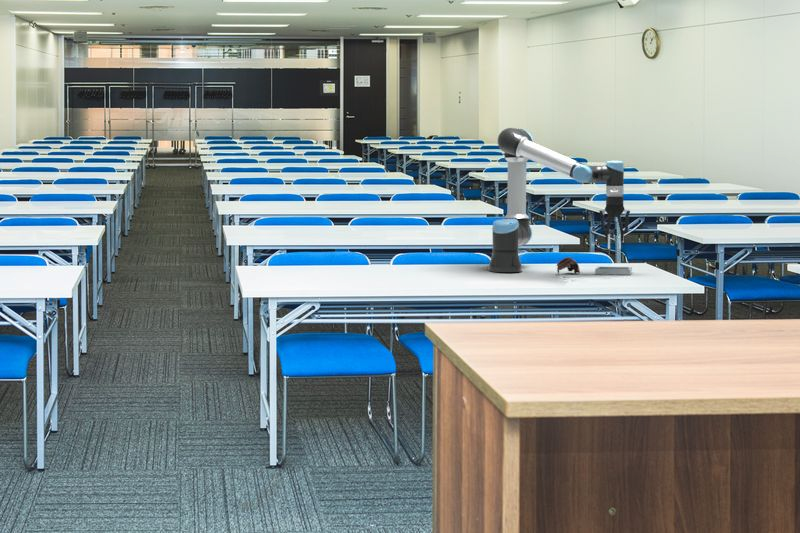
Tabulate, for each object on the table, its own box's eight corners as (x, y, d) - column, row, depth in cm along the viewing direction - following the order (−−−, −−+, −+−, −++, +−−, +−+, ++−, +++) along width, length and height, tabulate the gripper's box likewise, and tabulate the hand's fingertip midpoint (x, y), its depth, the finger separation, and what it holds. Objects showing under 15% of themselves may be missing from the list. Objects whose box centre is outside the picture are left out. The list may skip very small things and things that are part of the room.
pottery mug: (581, 274, 471) (572, 258, 470) (562, 284, 474) (553, 268, 473) (582, 267, 483) (573, 251, 481) (563, 276, 485) (554, 260, 484)
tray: (595, 274, 471) (595, 269, 471) (597, 272, 487) (597, 266, 487) (630, 275, 468) (630, 269, 467) (631, 272, 483) (631, 267, 483)
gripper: (594, 196, 473) (594, 249, 475) (634, 195, 469) (633, 249, 471) (595, 196, 481) (595, 248, 482) (634, 195, 476) (634, 248, 478)
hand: (614, 248), depth 476 cm, fingers open, 4 cm apart
